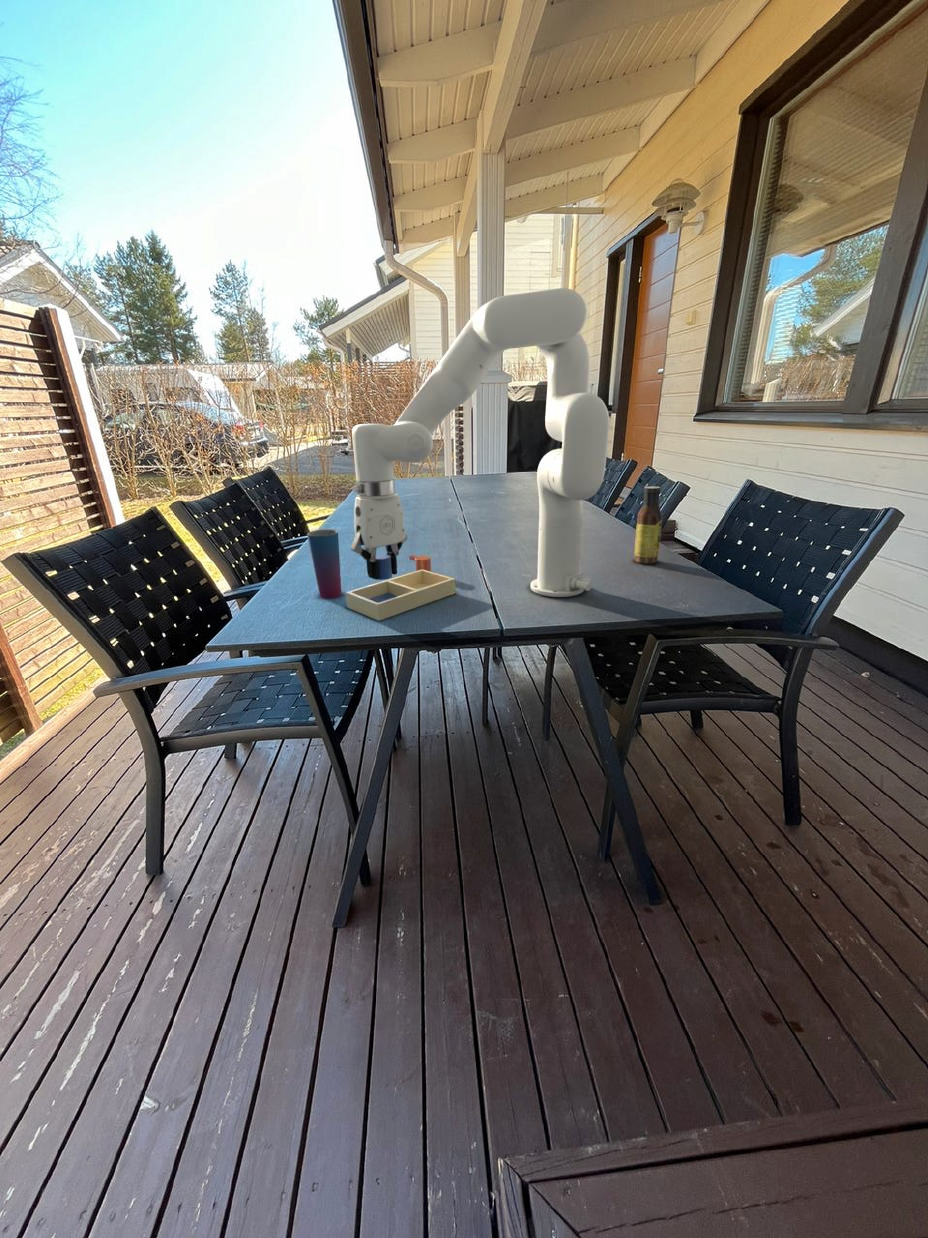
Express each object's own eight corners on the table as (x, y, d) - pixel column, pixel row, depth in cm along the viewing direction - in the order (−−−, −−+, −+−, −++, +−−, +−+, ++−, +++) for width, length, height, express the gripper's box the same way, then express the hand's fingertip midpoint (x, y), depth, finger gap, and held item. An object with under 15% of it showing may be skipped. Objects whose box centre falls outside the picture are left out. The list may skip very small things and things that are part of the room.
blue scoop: (396, 576, 113) (394, 556, 111) (381, 581, 110) (379, 560, 109) (376, 570, 117) (375, 550, 116) (362, 574, 115) (360, 554, 113)
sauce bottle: (660, 564, 140) (670, 488, 132) (637, 565, 140) (645, 489, 133) (653, 558, 146) (661, 485, 138) (630, 558, 146) (637, 485, 139)
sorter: (455, 593, 123) (455, 578, 122) (378, 620, 109) (377, 604, 107) (423, 583, 131) (422, 569, 129) (347, 607, 116) (345, 592, 115)
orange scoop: (434, 574, 137) (433, 557, 136) (423, 577, 135) (422, 560, 133) (417, 569, 142) (416, 553, 140) (406, 572, 139) (405, 556, 137)
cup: (338, 600, 121) (330, 536, 115) (310, 599, 122) (301, 535, 116) (349, 590, 127) (342, 529, 121) (323, 589, 128) (315, 528, 122)
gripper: (351, 496, 98) (360, 589, 105) (419, 485, 109) (423, 570, 116) (329, 492, 103) (339, 581, 110) (396, 482, 114) (402, 564, 121)
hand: (382, 574), depth 113 cm, fingers closed on blue scoop, 4 cm apart
